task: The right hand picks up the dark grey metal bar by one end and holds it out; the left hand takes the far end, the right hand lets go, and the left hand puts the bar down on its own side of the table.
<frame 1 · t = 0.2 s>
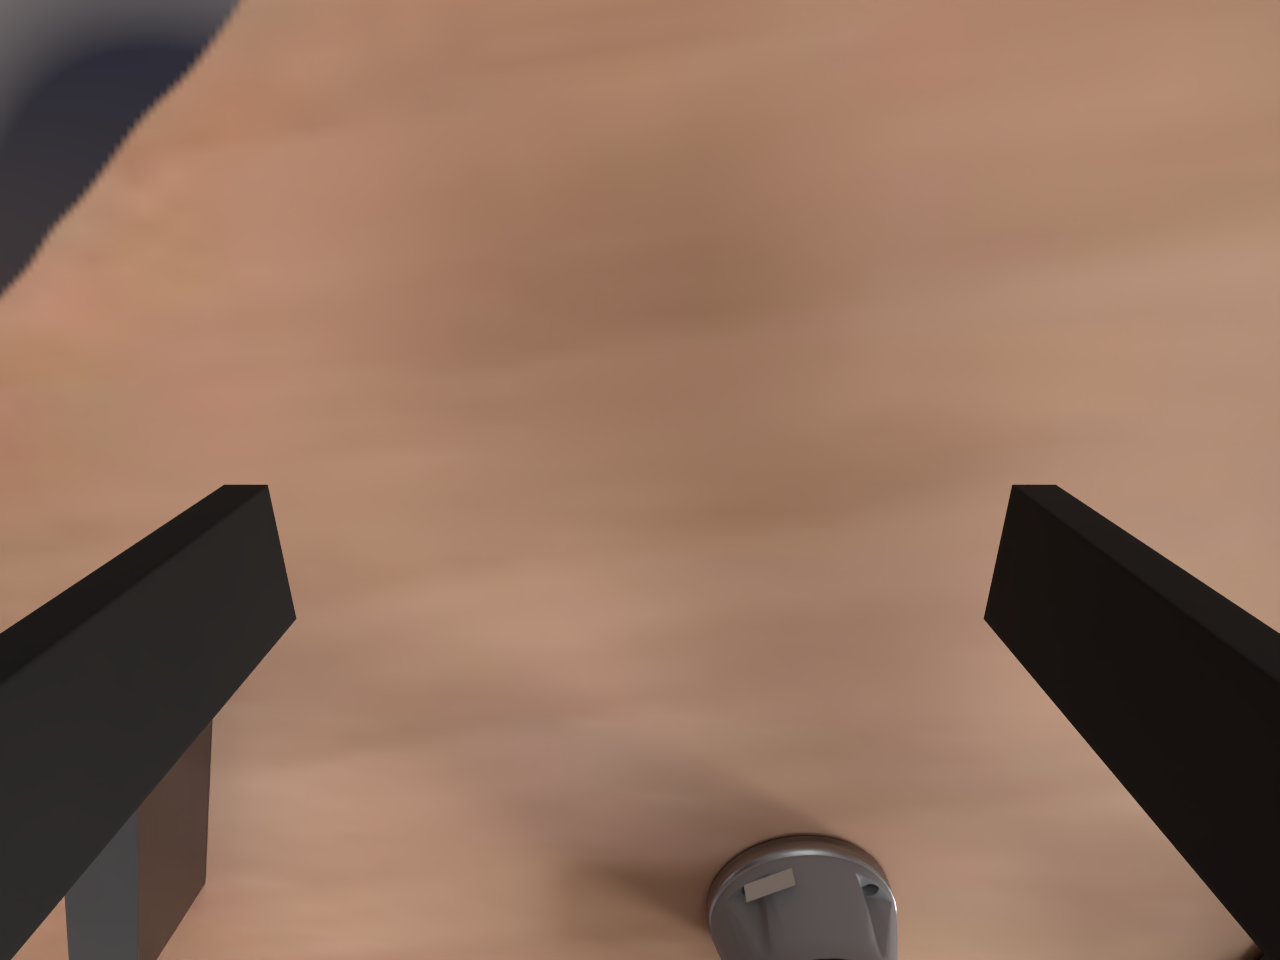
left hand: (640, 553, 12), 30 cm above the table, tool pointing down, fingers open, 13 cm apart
bar: (178, 771, 53), on the table
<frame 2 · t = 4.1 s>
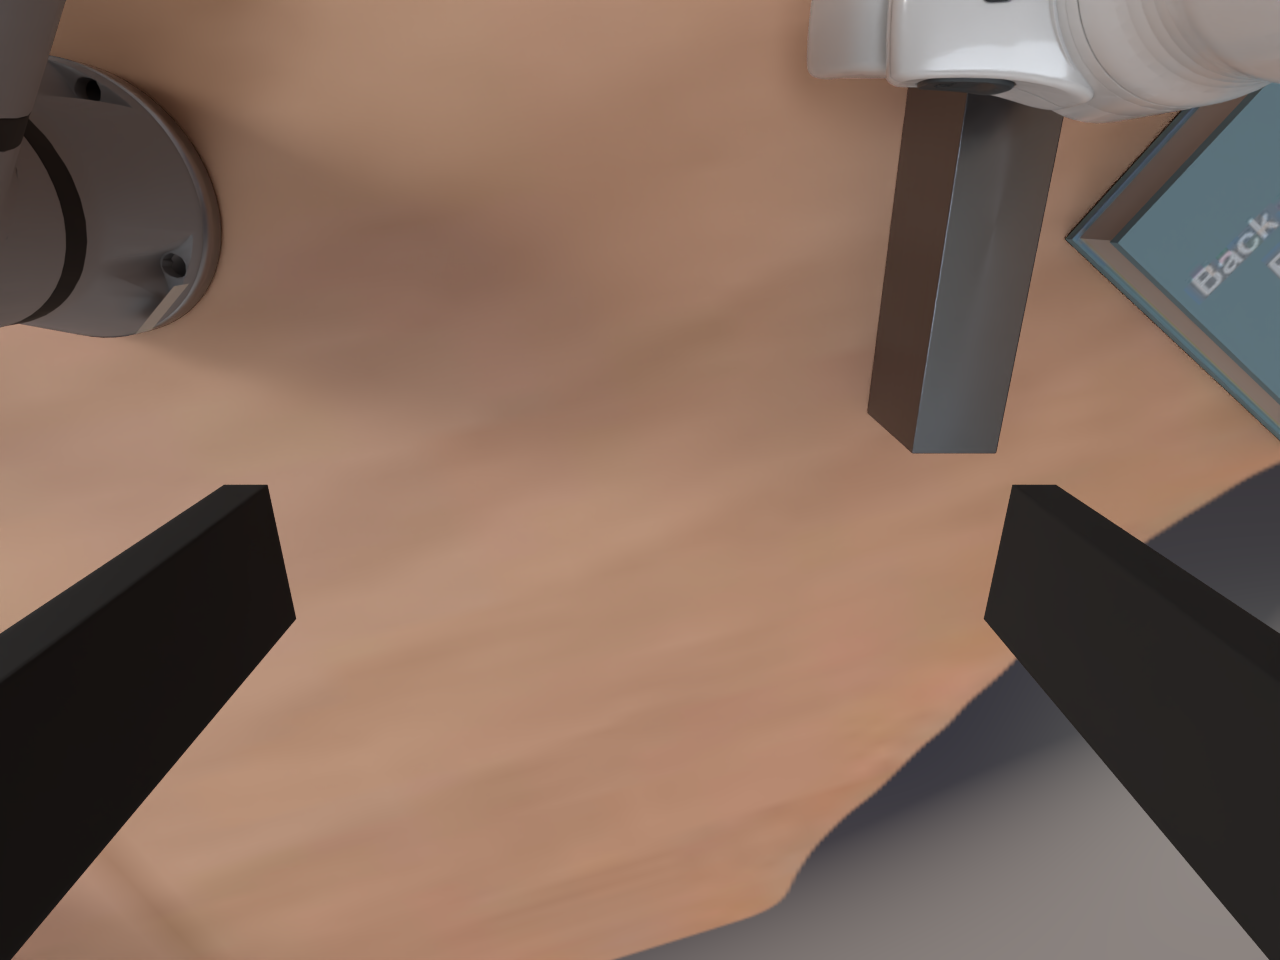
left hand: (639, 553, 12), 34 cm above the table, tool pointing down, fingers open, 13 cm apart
bar: (929, 222, 42), on the table, touching right hand
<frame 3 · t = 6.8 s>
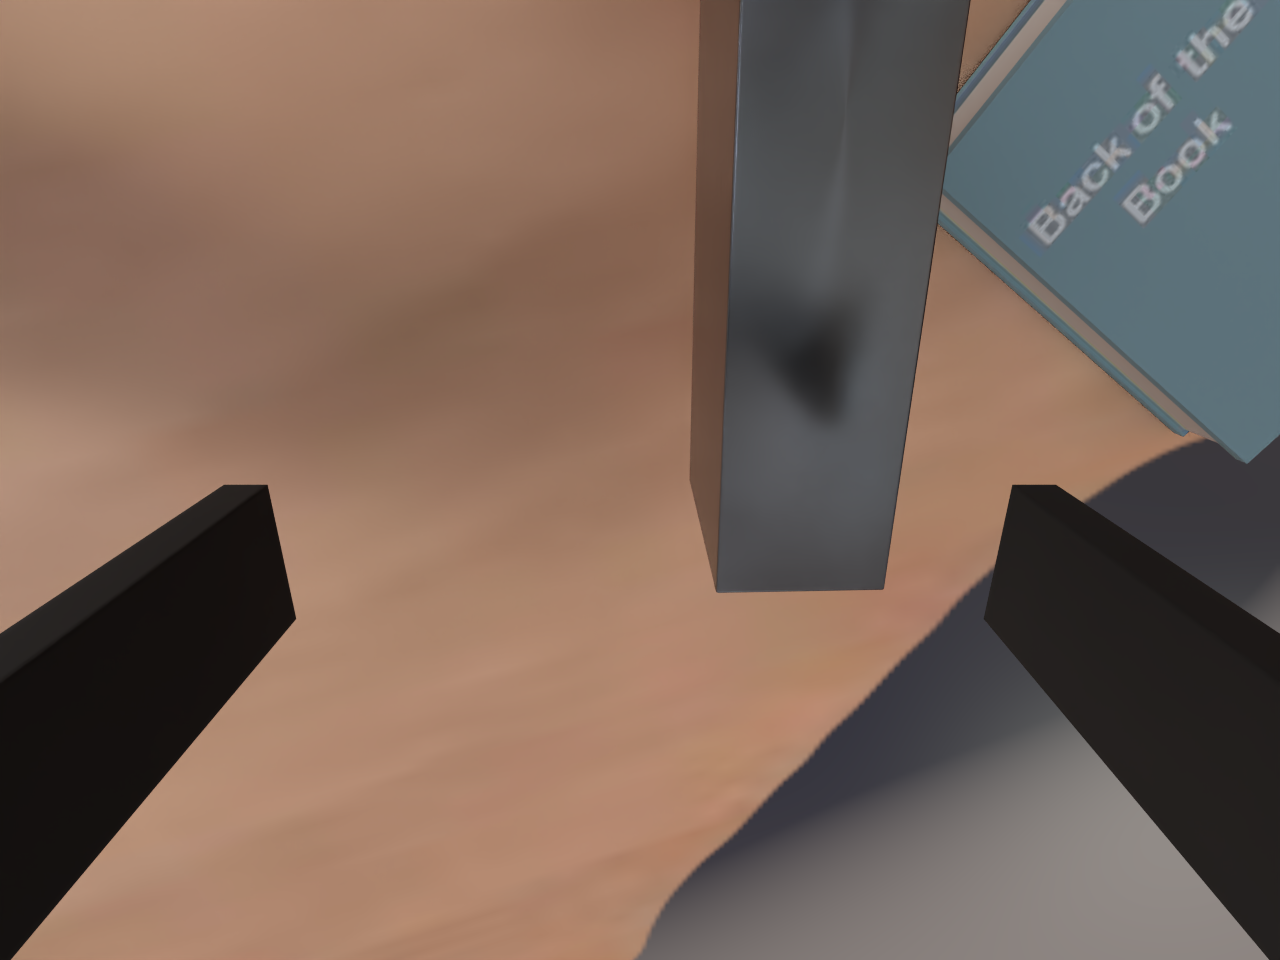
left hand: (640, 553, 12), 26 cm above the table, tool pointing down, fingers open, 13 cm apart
book: (1161, 183, 35), on the table
bar: (769, 138, 22), point 12 cm above the table, touching right hand
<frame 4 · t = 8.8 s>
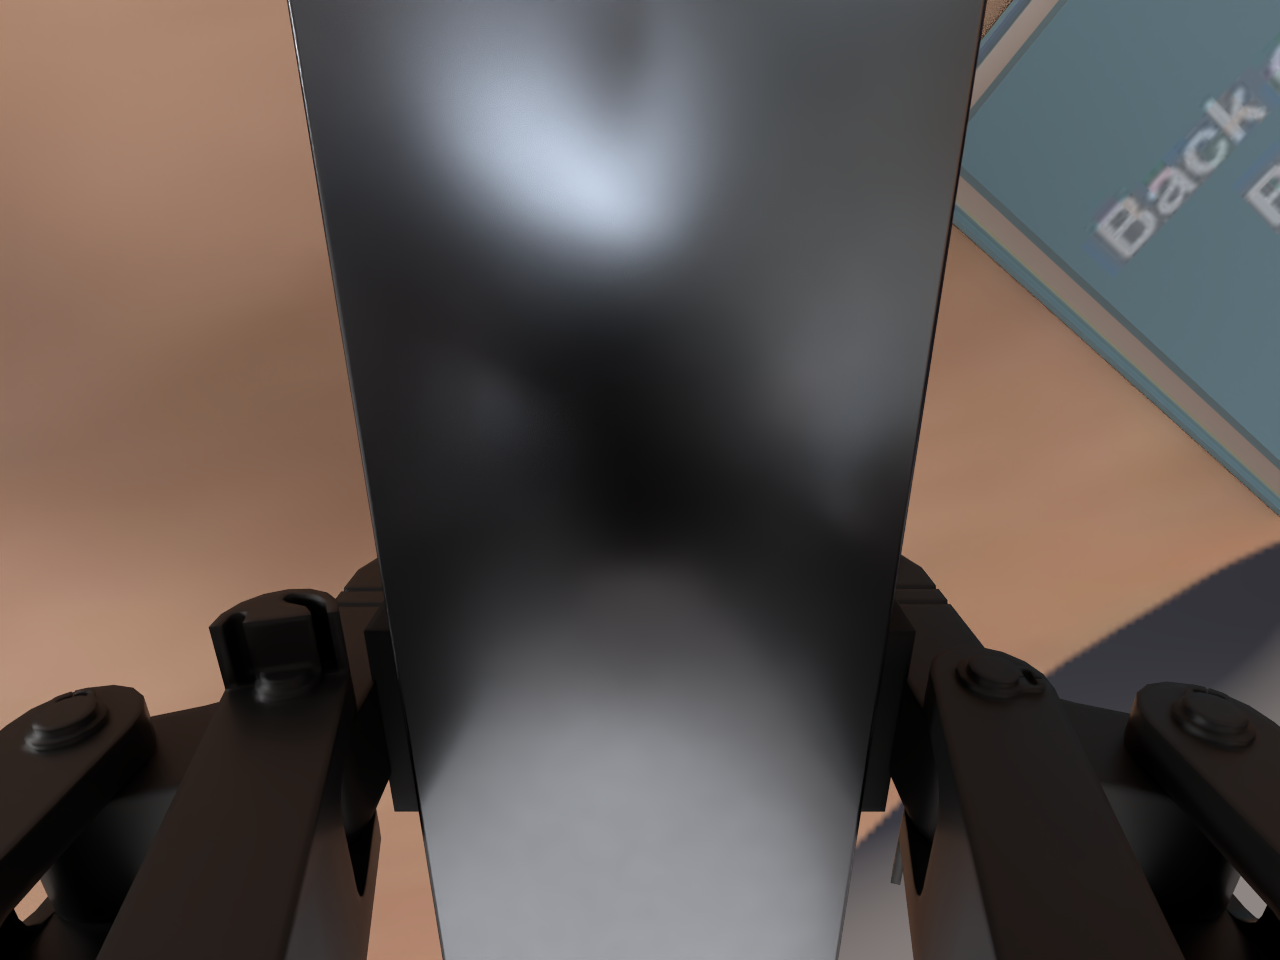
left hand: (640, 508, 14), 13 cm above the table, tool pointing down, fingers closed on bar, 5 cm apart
bar: (638, 52, 12), point 12 cm above the table, touching left hand, right hand
when the right hand's fingers open (15 cm above the table, at t = 9.6 s): bar stays where it is, held by the left hand.
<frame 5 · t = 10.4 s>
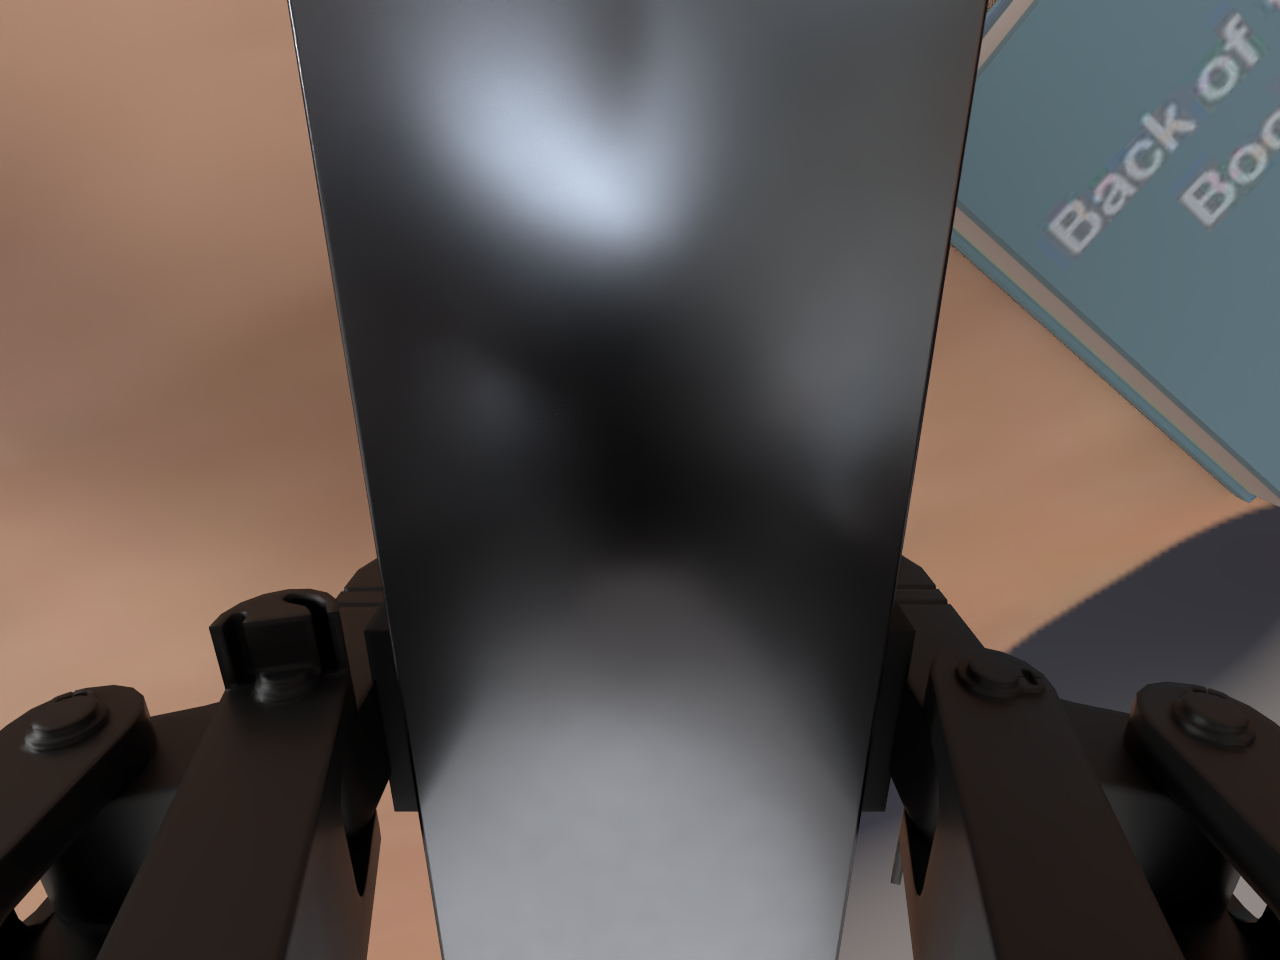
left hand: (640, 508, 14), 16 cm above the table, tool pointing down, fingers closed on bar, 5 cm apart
book: (1227, 175, 26), on the table
bar: (638, 52, 12), point 15 cm above the table, touching left hand
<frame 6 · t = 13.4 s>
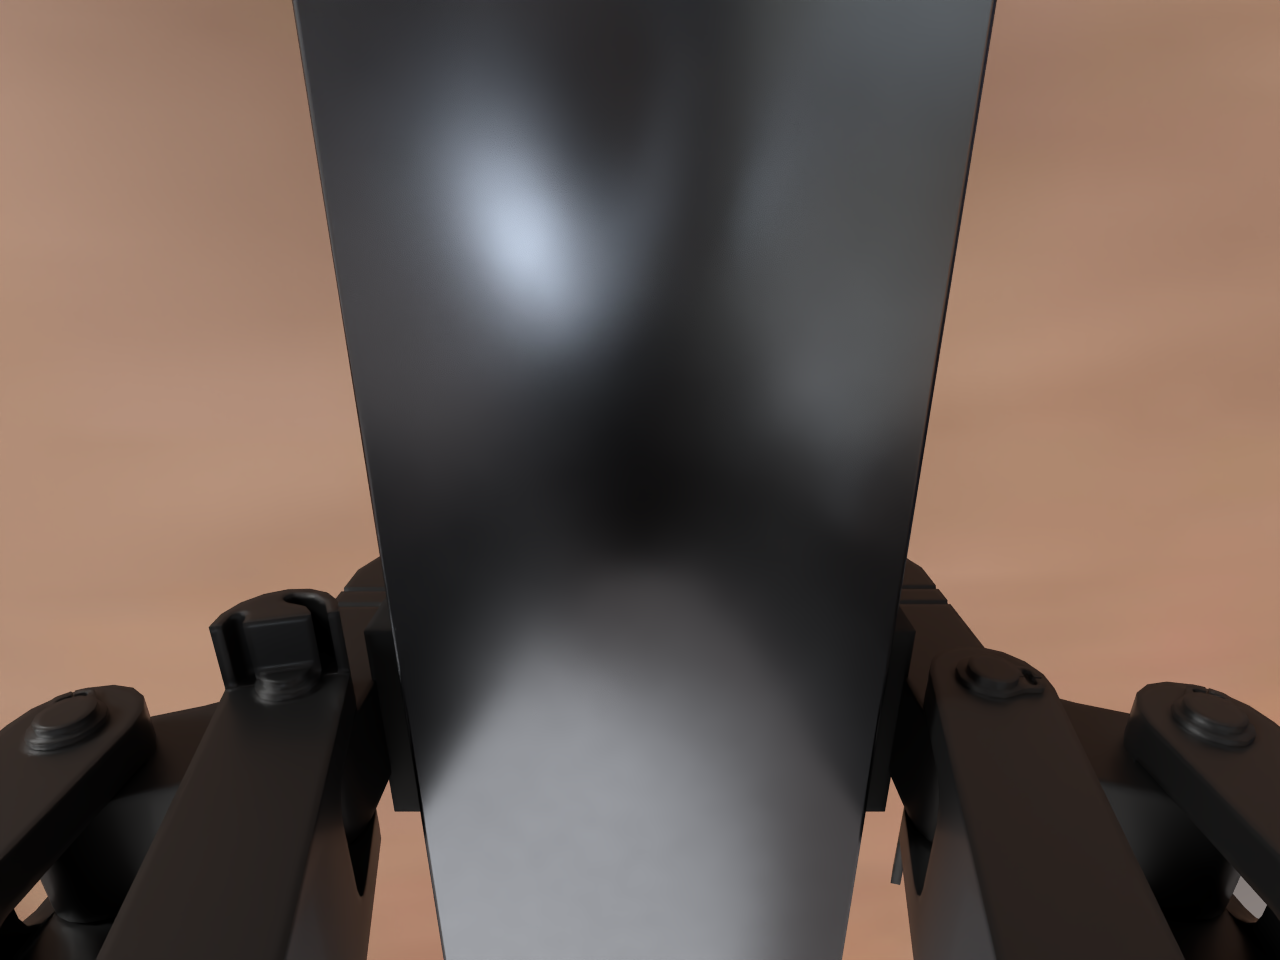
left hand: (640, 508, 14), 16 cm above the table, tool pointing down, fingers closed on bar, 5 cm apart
bar: (641, 56, 12), point 15 cm above the table, touching left hand
when the left hand's fingers open (2 cm above the table, at t = 18.1 s): bar drops 1 cm, on the table.
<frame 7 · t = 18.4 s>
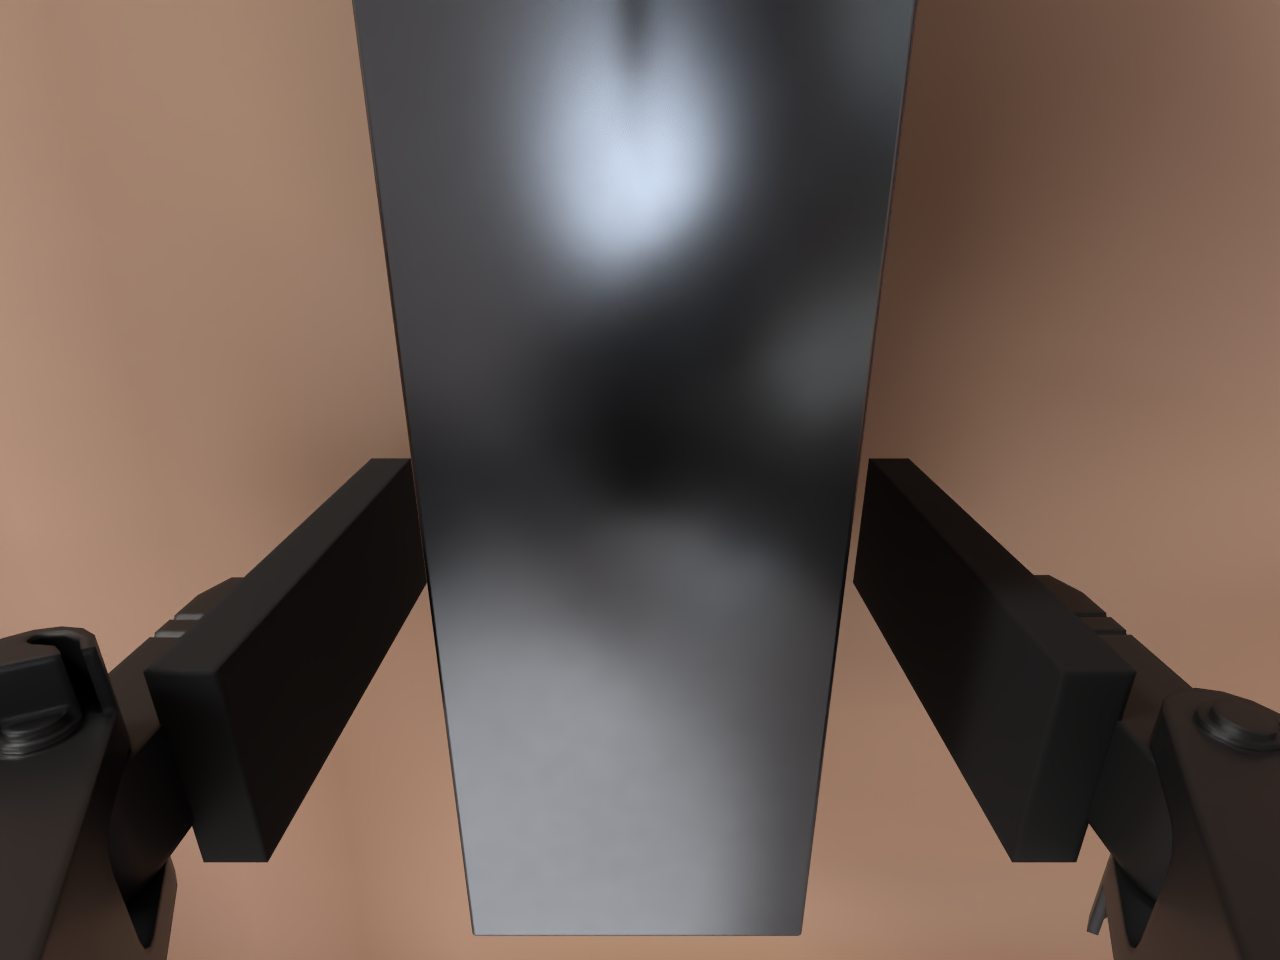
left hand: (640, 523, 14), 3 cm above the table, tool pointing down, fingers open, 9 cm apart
bar: (637, 80, 13), on the table
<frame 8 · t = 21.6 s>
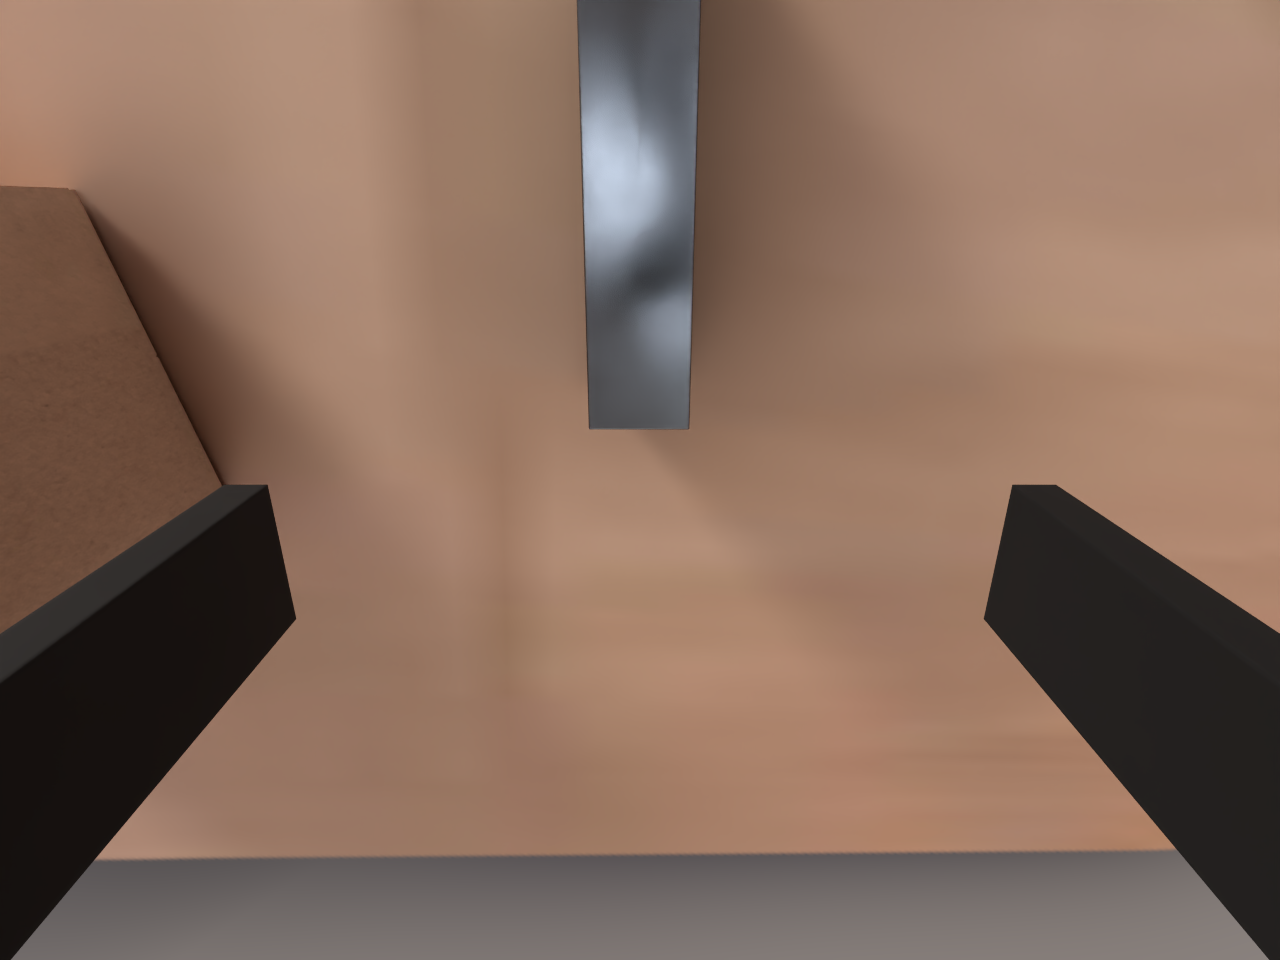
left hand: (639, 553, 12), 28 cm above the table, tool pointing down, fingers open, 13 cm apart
bar: (639, 161, 36), on the table
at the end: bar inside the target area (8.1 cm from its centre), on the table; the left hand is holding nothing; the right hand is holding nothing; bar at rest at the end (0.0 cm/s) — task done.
